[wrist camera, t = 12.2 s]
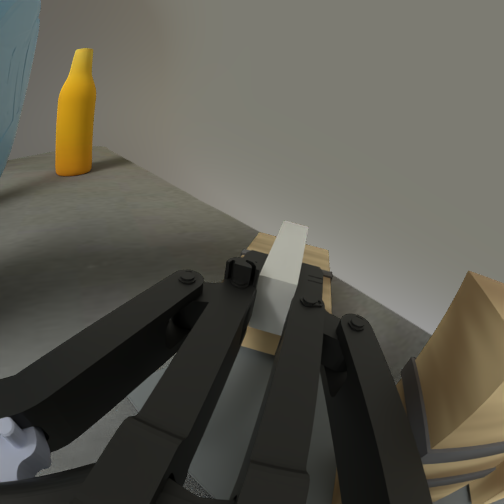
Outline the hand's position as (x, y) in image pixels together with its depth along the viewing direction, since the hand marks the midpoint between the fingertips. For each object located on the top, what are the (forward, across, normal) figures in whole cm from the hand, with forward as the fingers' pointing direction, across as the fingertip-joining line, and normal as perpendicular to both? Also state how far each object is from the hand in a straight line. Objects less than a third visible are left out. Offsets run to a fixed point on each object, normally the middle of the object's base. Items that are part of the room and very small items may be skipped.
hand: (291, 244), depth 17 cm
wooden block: (-10, +10, -8) cm, 16 cm away
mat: (-10, +10, -8) cm, 16 cm away
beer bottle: (+29, -51, -8) cm, 59 cm away
